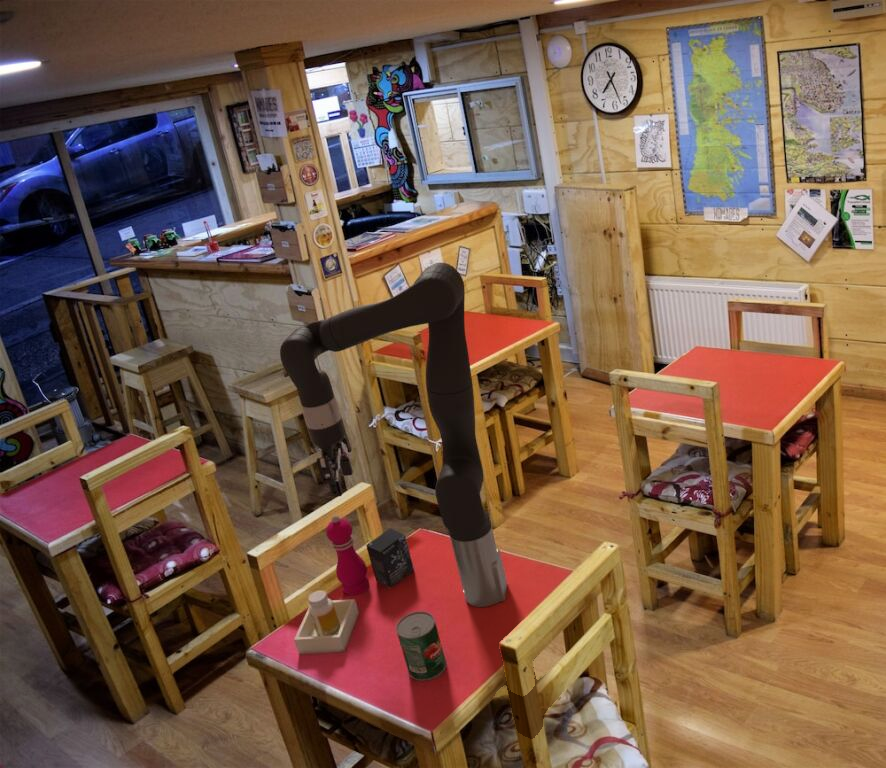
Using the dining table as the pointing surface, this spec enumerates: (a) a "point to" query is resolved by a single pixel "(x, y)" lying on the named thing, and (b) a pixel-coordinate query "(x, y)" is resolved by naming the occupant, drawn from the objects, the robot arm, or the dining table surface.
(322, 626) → the supplement bottle
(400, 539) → the box
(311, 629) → the tub
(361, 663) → the dining table surface
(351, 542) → the pepper mill
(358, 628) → the dining table surface
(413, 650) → the canned tomato
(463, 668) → the dining table surface
